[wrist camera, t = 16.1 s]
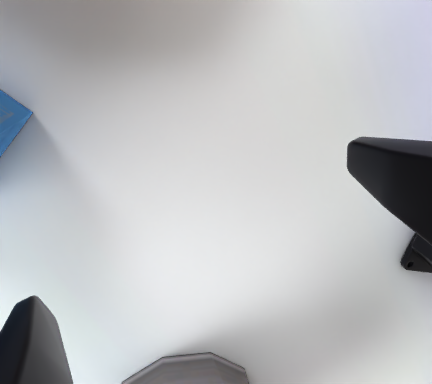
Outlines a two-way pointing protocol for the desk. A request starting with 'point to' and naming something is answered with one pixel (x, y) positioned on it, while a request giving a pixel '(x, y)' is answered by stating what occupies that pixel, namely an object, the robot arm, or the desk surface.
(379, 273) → the desk surface
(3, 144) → the perfume bottle
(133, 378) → the can
